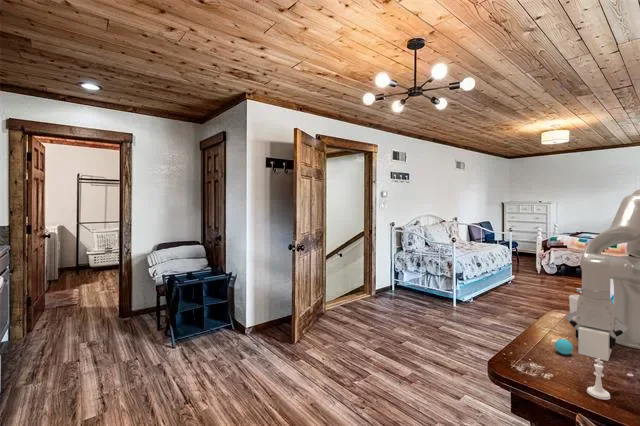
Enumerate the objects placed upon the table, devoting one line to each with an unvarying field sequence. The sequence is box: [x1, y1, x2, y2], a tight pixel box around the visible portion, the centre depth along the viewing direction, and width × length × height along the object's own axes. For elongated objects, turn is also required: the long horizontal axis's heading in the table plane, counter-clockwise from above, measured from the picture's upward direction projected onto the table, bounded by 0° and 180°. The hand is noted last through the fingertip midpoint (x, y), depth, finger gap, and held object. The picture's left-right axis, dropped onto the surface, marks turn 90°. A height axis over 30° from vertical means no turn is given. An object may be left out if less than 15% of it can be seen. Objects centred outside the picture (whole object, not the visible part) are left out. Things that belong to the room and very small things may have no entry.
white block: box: [577, 325, 613, 362], centre depth 114 cm, size 10×8×9 cm
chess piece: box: [586, 358, 611, 401], centre depth 90 cm, size 5×5×10 cm
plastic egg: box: [554, 338, 574, 355], centre depth 114 cm, size 5×5×5 cm
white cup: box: [568, 294, 581, 322], centre depth 144 cm, size 8×8×10 cm
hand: (595, 343), depth 114 cm, fingers closed on white block, 7 cm apart
